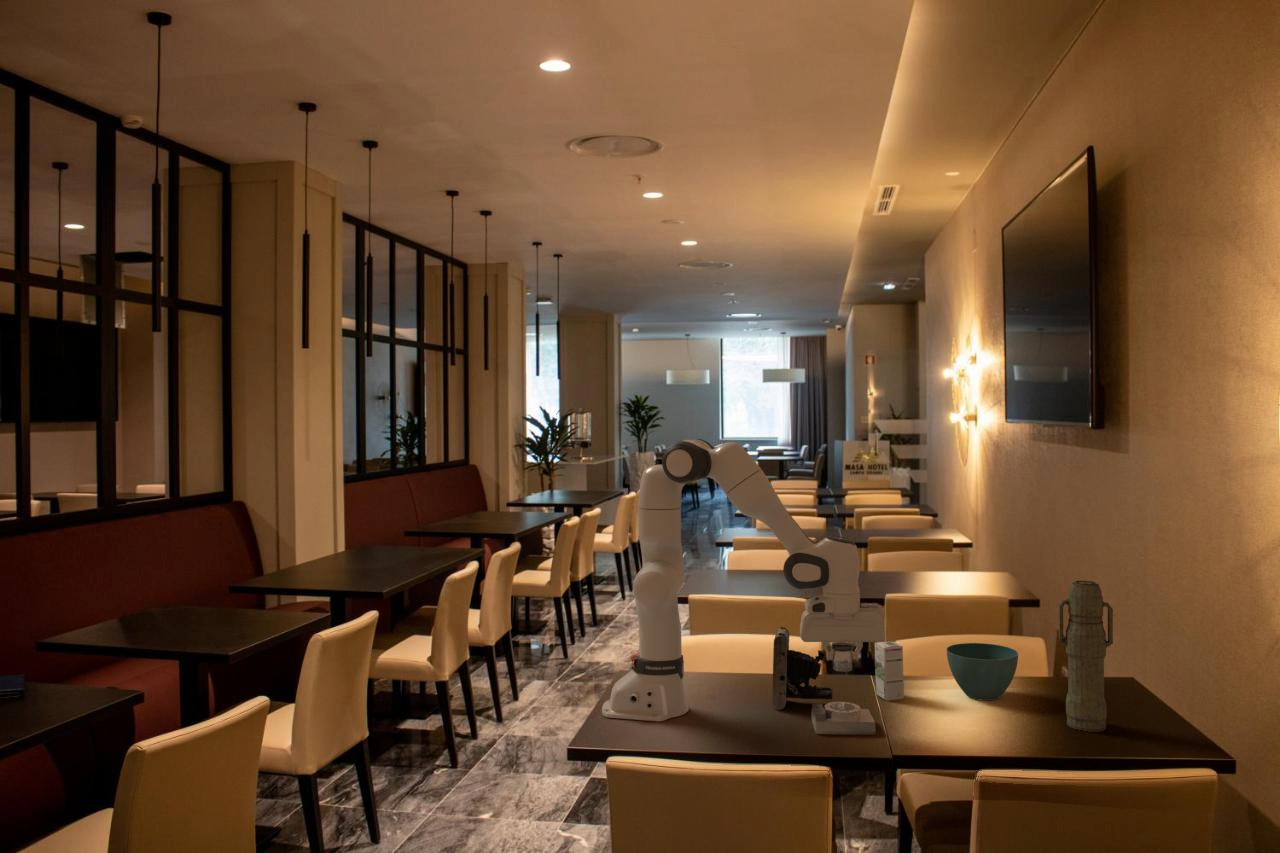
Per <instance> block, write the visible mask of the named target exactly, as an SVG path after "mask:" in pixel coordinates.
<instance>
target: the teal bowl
mask: <svg viewBox="0 0 1280 853" xmlns="http://www.w3.org/2000/svg"><path fill="white" fill-rule="evenodd" d="M946 657H947V662H948V666H949V669H950V672H951V674H952V676H953V679H954V680H955V682H956V683H957V685H958V687H960V690H962V692H963V693H964V694H965V695H966V696H967V697H968V696H969V697H968V698H970V697H971V698H970V699H973V698H975V699H974V700H978V699H982V700H981V701H995V700H998V699H999V698H1000V697H1001V696H1002V695H1003V694H1004V693H1005V692H1006V691H1007V689H1008V688H1009V687H1010V685H1011V683H1012V681H1013V679H1014V676H1015V674H1016V672H1017V668H1018V667H1017V666H1018V661H1019V652H1018V651H1017V650H1016V649H1014V648H1011V647H1008V646H1005V645H999V644H993V643H986V642H985V643H983V642H982V643H981V642H965V643H956V644H951V645H949V646H948V647H946ZM994 699H995V700H994Z"/></svg>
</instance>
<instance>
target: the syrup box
mask: <svg viewBox="0 0 1280 853" xmlns="http://www.w3.org/2000/svg"><path fill="white" fill-rule="evenodd" d="M903 650H904V646H903V645H902V644H899V643H897V642H894V641H891V640H890V641H889V640H888V641H887V640H885V641H884V640H883V641H882V642H874V668H875V669H874V674H875V676H874V678H875V680H874V681H875V695H876V696H878V697H879V698H880V699H882V700H883V701H887V702H889V701H897V700H898V701H900V700H901V701H902V700H905V690H904V689H905V687H904V686H905V685H904V684H905V683H904V679H905V678H904V651H903Z"/></svg>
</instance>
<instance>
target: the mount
mask: <svg viewBox="0 0 1280 853" xmlns="http://www.w3.org/2000/svg"><path fill="white" fill-rule="evenodd" d="M827 703H828V704H827ZM827 703H826V704H825V705H823V704H822V703H812V705H811V706H812V707H811V718H810V719H811V724H812V726H813V729H814V732H815V734H816V735H858V736H859V735H861V736H862V735H863V736H865V735H867V736H868V735H876V721H875V719H874V718H873V715H872V714H871V711H870V709H868V708H861V707H860V706H861V705H859V704H856V703H853V702H848V701H847V702H846V701H832V702H827Z"/></svg>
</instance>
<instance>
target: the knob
mask: <svg viewBox="0 0 1280 853" xmlns="http://www.w3.org/2000/svg"><path fill="white" fill-rule="evenodd" d="M853 648H854V647H853V643H851V642H832V643H831V649H832V652H833V660H832V669H833V671H835V672H841V673H842V672H843V673H844V672H845V673H846V672H847V673H848V672H852V670H853V660H852V652H853Z"/></svg>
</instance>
